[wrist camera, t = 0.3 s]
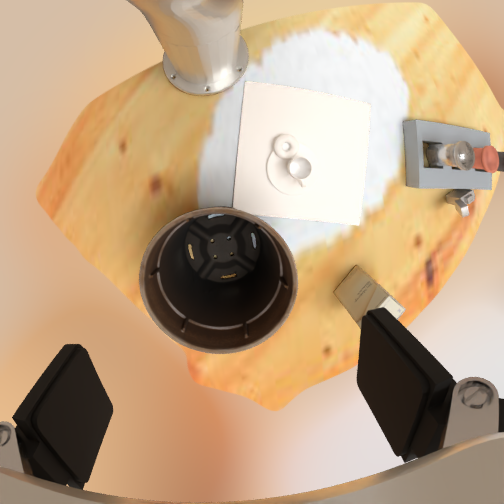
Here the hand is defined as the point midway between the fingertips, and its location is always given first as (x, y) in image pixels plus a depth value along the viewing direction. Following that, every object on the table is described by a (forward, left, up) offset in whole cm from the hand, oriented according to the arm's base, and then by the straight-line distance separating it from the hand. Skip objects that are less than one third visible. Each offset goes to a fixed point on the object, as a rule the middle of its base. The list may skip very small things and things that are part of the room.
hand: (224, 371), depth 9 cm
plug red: (-8, +40, -32) cm, 52 cm away
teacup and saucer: (-8, +12, -36) cm, 39 cm away
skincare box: (+14, +20, -36) cm, 44 cm away
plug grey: (-8, +33, -32) cm, 47 cm away
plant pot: (+5, -2, -36) cm, 37 cm away
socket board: (-8, +40, -36) cm, 54 cm away
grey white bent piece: (0, +40, -36) cm, 54 cm away
